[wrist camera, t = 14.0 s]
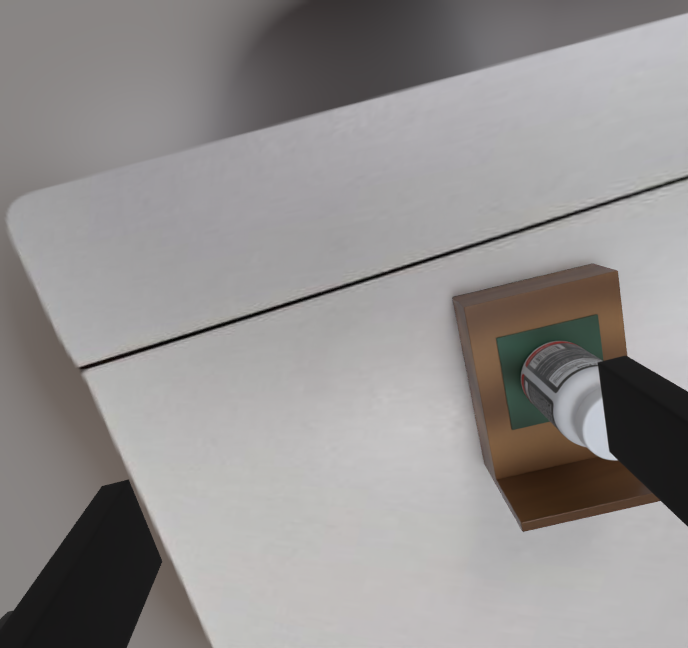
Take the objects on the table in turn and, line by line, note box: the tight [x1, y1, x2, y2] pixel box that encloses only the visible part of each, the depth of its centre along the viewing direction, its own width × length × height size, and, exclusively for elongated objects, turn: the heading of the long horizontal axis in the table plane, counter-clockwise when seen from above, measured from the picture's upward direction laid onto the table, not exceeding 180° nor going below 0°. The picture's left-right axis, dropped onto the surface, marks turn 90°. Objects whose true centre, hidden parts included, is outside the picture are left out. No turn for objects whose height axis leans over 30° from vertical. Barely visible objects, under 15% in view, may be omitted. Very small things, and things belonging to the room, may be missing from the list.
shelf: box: [453, 264, 660, 532], centre depth 42 cm, size 16×12×10 cm
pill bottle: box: [521, 341, 617, 460], centre depth 38 cm, size 6×6×10 cm
